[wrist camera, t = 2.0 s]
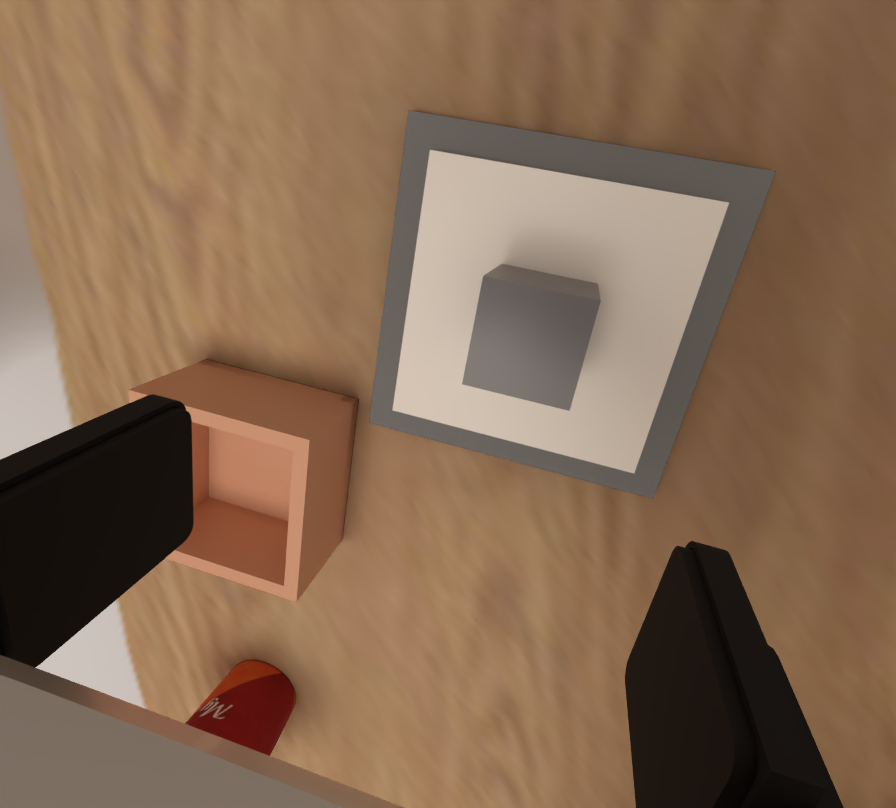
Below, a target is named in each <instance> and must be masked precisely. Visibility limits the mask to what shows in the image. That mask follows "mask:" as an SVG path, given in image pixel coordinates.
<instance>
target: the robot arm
mask: <svg viewBox="0 0 896 808" xmlns="http://www.w3.org/2000/svg"><path fill="white" fill-rule="evenodd" d="M193 524H194V514H193V464H192V419H191V415H190V413H189V412H188V411H186V408H185V406H184V404H183V403H182V402H180V401H177V400H173V399H170V398H166V397H162V396H159V395H154V394H151V395H147V396H145V397H143V398H140V399H138V400H136V401H133V402H131V403H129V404H127V405H124V406H122V407H120V408H117V409H115V410H113V411H111V412H108V413H106V414H104V415H101V416H99V417H97V418H95V419H92V420H90V421H88V422H85V423H83V424H81V425H79V426H76V427H74V428H72V429H69V430H67V431H65V432H63V433H60V434H58V435H56V436H53V437H51V438H49V439H47V440H44V441H42V442H40V443H38V444H35V445H33V446H31V447H28V448H26V449H24V450H22V451H19V452H17V453H15V454H12V455H10V456H8V457H6V458H3V459H1V460H0V808H404V807H401V806H399V805H396V804H393V803H391V802H388V801H386V800H383V799H380V798H378V797H375V796H373V795H370V794H367V793H365V792H362V791H360V790H357V789H354V788H352V787H349V786H347V785H344V784H341V783H339V782H336V781H334V780H331V779H328V778H326V777H323V776H321V775H318V774H315V773H313V772H310V771H308V770H305V769H302V768H300V767H297V766H295V765H292V764H289V763H287V762H284V761H281V760H279V759H276V758H274V757H271V756H268V755H266V754H263V753H260V752H258V751H255V750H252V749H250V748H247V747H245V746H242V745H239V744H237V743H234V742H231V741H229V740H226V739H223V738H221V737H218V736H216V735H213V734H210V733H208V732H205V731H202V730H200V729H197V728H194V727H192V726H189V725H186V724H184V723H181V722H179V721H176V720H173V719H171V718H168V717H165V716H163V715H160V714H157V713H155V712H152V711H149V710H147V709H144V708H141V707H139V706H136V705H133V704H131V703H128V702H125V701H123V700H120V699H118V698H115V697H112V696H110V695H107V694H104V693H101V692H99V691H96V690H94V689H91V688H88V687H86V686H83V685H80V684H77V683H75V682H72V681H69V680H67V679H64V678H61V677H59V676H56V675H53V674H50V673H48V672H45V671H42V670H40V669H37V668H35V667H37V666H38V665H39V664H41V663H42V662H43V661H44V660H45V659H46V658H48V657H49V656H50V655H51V654H52V653H54V652H55V651H56V650H57V649H58V648H59V647H61V646H62V645H63V644H64V643H65V642H67V641H68V640H69V639H70V638H71V637H73V636H74V635H75V634H76V633H77V632H78V631H80V630H81V629H82V628H83V627H84V626H85V625H87V624H88V623H89V622H90V621H91V620H93V619H94V618H95V617H96V616H97V615H98V614H100V613H101V612H102V611H103V610H104V609H106V608H107V607H108V606H109V605H110V604H112V603H113V602H114V601H115V600H116V599H117V598H119V597H120V596H121V595H122V594H123V593H125V592H126V591H127V590H128V589H129V588H130V587H132V586H133V585H134V584H135V583H136V582H138V581H139V580H140V579H141V578H142V577H144V576H145V575H146V574H147V573H148V572H149V571H151V570H152V569H153V568H154V567H155V566H157V565H158V564H159V563H160V562H161V561H162V560H164V559H165V558H166V557H167V556H168V555H170V554H171V553H172V552H173V551H174V550H175V549H177V548H178V547H179V546H180V545H181V544H183V543H184V542H185V541H186V540H187V538H188V537H189V536H190V534H191V532H192V529H193ZM625 686H626V697H627V708H628V720H629V731H630V742H631V754H632V765H633V777H634V788H635V799H636V808H843V805H842V803H841V801H840V799H839V796H838V794H837V792H836V789H835V787H834V785H833V782H832V780H831V778H830V775H829V773H828V771H827V768H826V766H825V764H824V761H823V759H822V757H821V754H820V752H819V750H818V748H817V745H816V743H815V741H814V738H813V736H812V734H811V731H810V729H809V727H808V724H807V722H806V720H805V717H804V715H803V713H802V710H801V708H800V706H799V703H798V701H797V699H796V697H795V694H794V692H793V690H792V687H791V685H790V683H789V680H788V678H787V676H786V673H785V671H784V669H783V666H782V664H781V662H780V659H779V657H778V656H777V654H776V652H775V651H774V649H773V648H772V647H770V646H769V645H768V644H767V642H766V640H765V637H764V635H763V632H762V630H761V628H760V625H759V623H758V621H757V618H756V616H755V613H754V611H753V609H752V606H751V604H750V601H749V599H748V597H747V594H746V592H745V590H744V587H743V585H742V582H741V580H740V578H739V575H738V573H737V570H736V568H735V566H734V563H733V561H732V559H731V556H730V554H729V553H728V551H726V550H723V549H719V548H715V547H712V546H708V545H705V544H701V543H697V542H694V541H691V542H689V543H688V544H687V546H686V547H685V548H683V547H680V546H677V547H675V549H674V550H673V552H672V554H671V556H670V559H669V561H668V564H667V566H666V569H665V571H664V574H663V576H662V578H661V581H660V583H659V586H658V588H657V591H656V593H655V595H654V598H653V600H652V603H651V605H650V608H649V610H648V612H647V615H646V617H645V620H644V622H643V625H642V627H641V630H640V632H639V634H638V637H637V639H636V642H635V644H634V647H633V649H632V651H631V654H630V656H629V659H628V662H627V666H626V673H625Z"/></svg>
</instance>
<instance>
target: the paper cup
mask: <svg viewBox="0 0 896 808" xmlns="http://www.w3.org/2000/svg"><path fill="white" fill-rule="evenodd" d="M295 701H296V695H295V691H294V688H293V686H292V684H291V682H290V681H289V679H288V678H287V677H286V676H285V675H284V674H283V673H282V672H281V671H279V670H278V669H277V668H275V667H274V666H272V665H270V664H267V663H265V662H262V661H257V660H248V661H244V662H241V663H239V664H238V665H237V666H236V667H235V668H234V669H233V670H232V671H231V672H230V673H229V674H228V675H227V676H226V677H225V679H224V680H223V681H222V682H221V683H220V684H219V685H218V686H217V687H216V689H215V690H214V691H213V692H212V693H211V694H210V696H209V697H208V698H207V699H206V700H205V701H204V702H203V704H202V705H201V706H200V707H199V708H198V709H197V710H196V712H195V713H194V714H193V715H192V716H191V717H190V719H189V720H188V721H187V722H186V723H185V724H186V725H189V726H192V727H194V728H197V729H200V730H202V731H205V732H208V733H210V734H213V735H216V736H218V737H221V738H223V739H226V740H229V741H231V742H234V743H237V744H239V745H242V746H245V747H247V748H250V749H252V750H255V751H258V752H260V753H263V754H266V755H268V756H270V754H271V752H272V751H273V749H274V747H275V745H276V743H277V741H278V739H279V737H280V735H281V733H282V731H283V729H284V727H285V725H286V722H287V720H288V718H289V716H290V714H291V712H292V710H293V707H294V705H295Z"/></svg>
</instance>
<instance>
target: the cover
mask: <svg viewBox="0 0 896 808" xmlns="http://www.w3.org/2000/svg"><path fill="white" fill-rule="evenodd" d="M728 205H729V202H723V201H717V200H712V199H706V198H700V197H695V196H689V195H683V194H678V193H672V192H667V191H661V190H655V189H650V188H644V187H638V186H633V185H627V184H621V183H616V182H610V181H604V180H599V179H593V178H587V177H582V176H576V175H570V174H565V173H559V172H554V171H548V170H542V169H537V168H531V167H525V166H520V165H514V164H508V163H503V162H497V161H491V160H486V159H480V158H474V157H469V156H463V155H457V154H452V153H446V152H440V151H435V150H430V152H429V159H428V166H427V173H426V180H425V187H424V194H423V201H422V208H421V215H420V222H419V229H418V236H417V243H416V250H415V257H414V264H413V270H412V277H411V284H410V291H409V298H408V305H407V312H406V319H405V326H404V333H403V340H402V347H401V354H400V361H399V368H398V375H397V382H396V389H395V395H394V402H393V409H392V410H393V411H397V412H401V413H405V414H408V415H412V416H416V417H420V418H424V419H427V420H431V421H435V422H439V423H443V424H447V425H450V426H454V427H458V428H462V429H466V430H470V431H473V432H477V433H481V434H485V435H489V436H492V437H496V438H500V439H504V440H508V441H512V442H515V443H519V444H523V445H527V446H531V447H535V448H538V449H542V450H546V451H550V452H554V453H557V454H561V455H565V456H569V457H573V458H577V459H580V460H584V461H588V462H592V463H596V464H600V465H603V466H607V467H611V468H615V469H619V470H623V471H626V472H630V473H635V470H636V467H637V464H638V461H639V458H640V456H641V453H642V450H643V447H644V444H645V441H646V439H647V436H648V433H649V430H650V427H651V424H652V421H653V419H654V416H655V413H656V410H657V407H658V404H659V401H660V399H661V396H662V393H663V390H664V387H665V384H666V382H667V379H668V376H669V373H670V370H671V367H672V364H673V362H674V359H675V356H676V353H677V350H678V347H679V344H680V342H681V339H682V336H683V333H684V330H685V327H686V325H687V322H688V319H689V316H690V313H691V310H692V307H693V305H694V302H695V299H696V296H697V293H698V290H699V287H700V285H701V282H702V279H703V276H704V273H705V270H706V268H707V265H708V262H709V259H710V256H711V253H712V250H713V248H714V245H715V242H716V239H717V236H718V233H719V231H720V228H721V225H722V222H723V219H724V216H725V213H726V211H727V208H728Z"/></svg>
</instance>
